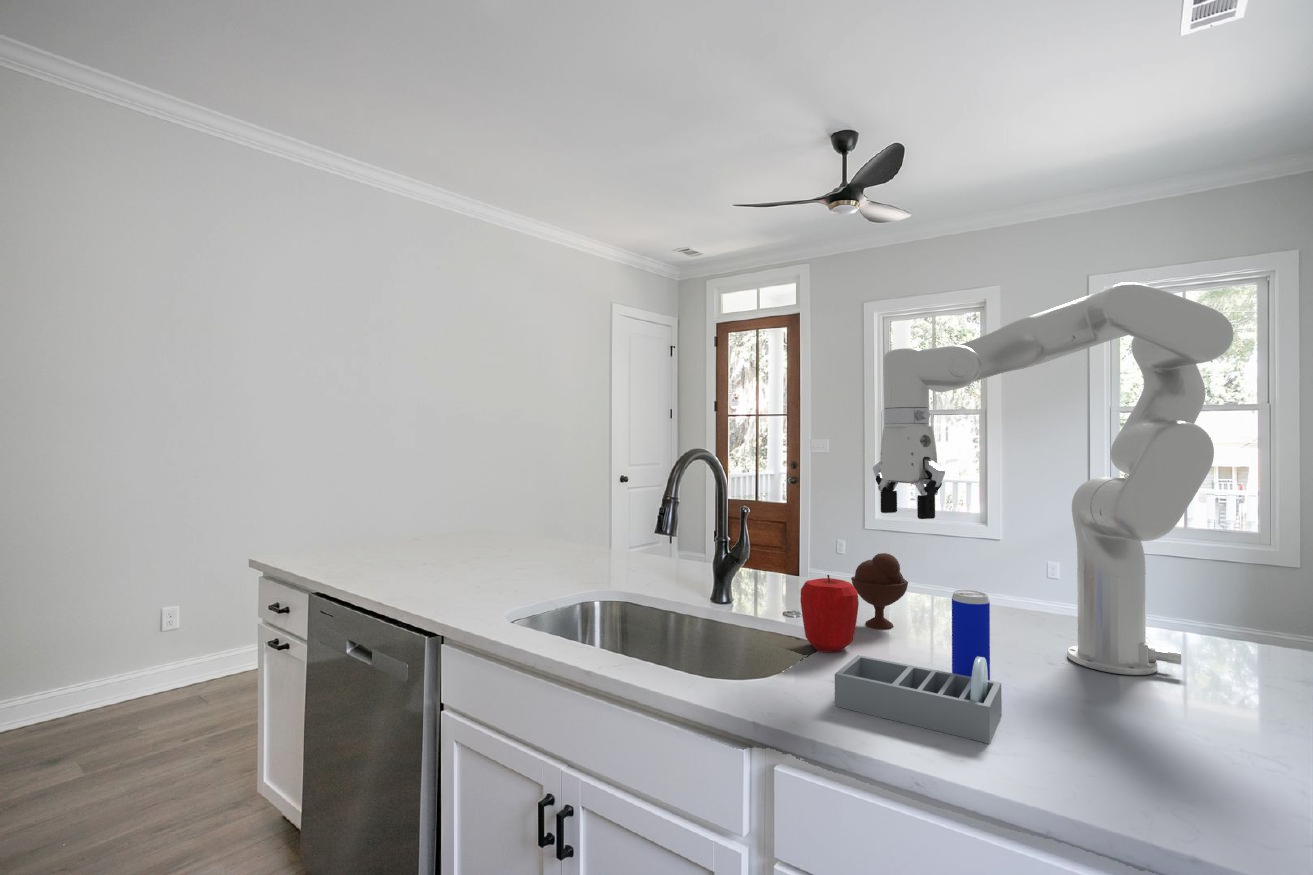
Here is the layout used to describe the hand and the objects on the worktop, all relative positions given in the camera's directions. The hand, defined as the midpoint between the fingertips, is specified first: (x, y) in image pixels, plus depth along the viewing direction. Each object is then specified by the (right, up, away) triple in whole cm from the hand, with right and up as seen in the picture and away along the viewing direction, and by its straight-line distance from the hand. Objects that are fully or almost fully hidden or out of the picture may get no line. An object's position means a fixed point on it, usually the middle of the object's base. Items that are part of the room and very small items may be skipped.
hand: (906, 515), depth 115 cm
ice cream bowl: (+1, -25, +18) cm, 31 cm away
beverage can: (+3, -25, -17) cm, 30 cm away
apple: (-13, -25, +4) cm, 28 cm away
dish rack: (-8, -25, -24) cm, 35 cm away
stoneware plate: (-1, -24, -28) cm, 37 cm away
